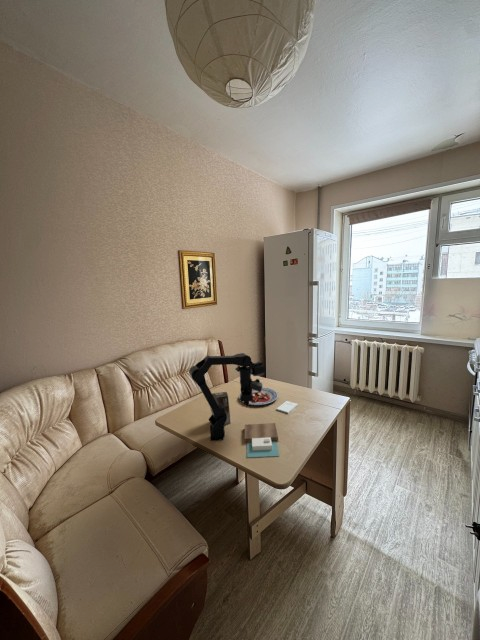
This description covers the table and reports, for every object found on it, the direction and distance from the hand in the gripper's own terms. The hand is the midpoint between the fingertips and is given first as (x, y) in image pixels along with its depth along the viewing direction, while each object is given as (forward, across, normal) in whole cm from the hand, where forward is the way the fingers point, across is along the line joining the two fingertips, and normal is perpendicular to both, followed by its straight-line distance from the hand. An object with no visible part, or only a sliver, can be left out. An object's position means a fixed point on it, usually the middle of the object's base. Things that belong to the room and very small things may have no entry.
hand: (247, 406), depth 128 cm
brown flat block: (+12, -7, -6) cm, 15 cm away
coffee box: (+12, +7, +15) cm, 21 cm away
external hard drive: (+13, +19, -24) cm, 33 cm away
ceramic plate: (+12, +34, -7) cm, 37 cm away
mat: (+12, -18, -6) cm, 23 cm away
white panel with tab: (+12, -16, -6) cm, 21 cm away
